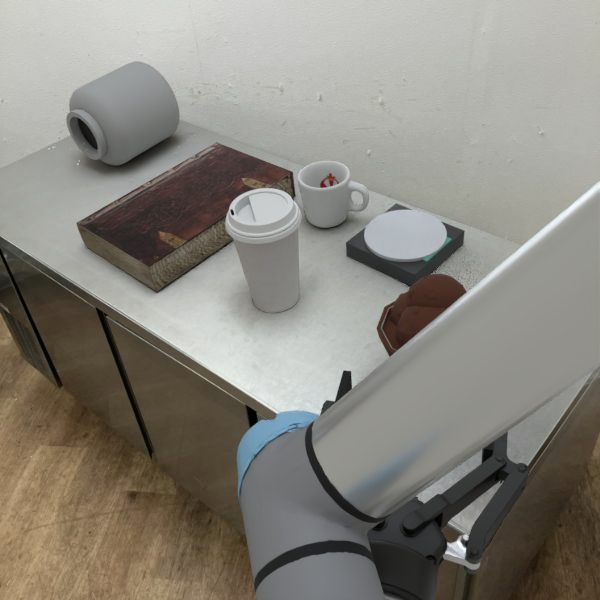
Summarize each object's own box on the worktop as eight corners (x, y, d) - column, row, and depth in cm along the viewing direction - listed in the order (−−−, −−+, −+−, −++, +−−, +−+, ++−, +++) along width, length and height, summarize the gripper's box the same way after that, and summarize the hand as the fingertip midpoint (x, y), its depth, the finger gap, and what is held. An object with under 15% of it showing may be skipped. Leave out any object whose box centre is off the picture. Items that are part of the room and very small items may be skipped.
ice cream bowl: (375, 351, 80) (373, 256, 70) (467, 347, 79) (479, 251, 69) (380, 421, 72) (378, 326, 62) (482, 418, 71) (497, 321, 61)
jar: (205, 128, 117) (76, 168, 103) (181, 167, 129) (63, 207, 116) (154, 40, 118) (20, 68, 104) (136, 87, 130) (13, 117, 117)
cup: (376, 209, 102) (375, 164, 96) (362, 239, 96) (360, 194, 91) (311, 201, 105) (307, 157, 100) (294, 230, 100) (289, 185, 94)
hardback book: (220, 164, 116) (215, 139, 113) (296, 198, 106) (292, 171, 103) (84, 246, 102) (74, 220, 99) (157, 293, 92) (148, 266, 88)
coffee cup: (250, 272, 93) (232, 184, 83) (315, 274, 91) (305, 184, 81) (234, 319, 86) (213, 228, 76) (305, 322, 85) (292, 230, 75)
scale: (463, 243, 93) (465, 227, 91) (414, 288, 87) (415, 271, 85) (396, 215, 100) (396, 199, 98) (346, 255, 94) (345, 239, 92)
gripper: (229, 596, 53) (296, 395, 68) (552, 672, 47) (548, 433, 61) (212, 553, 48) (288, 346, 63) (572, 632, 42) (562, 382, 56)
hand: (417, 389), depth 62 cm, fingers open, 13 cm apart
